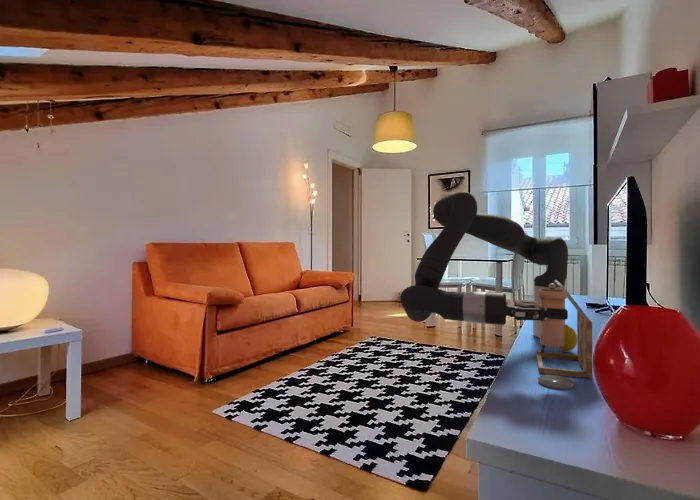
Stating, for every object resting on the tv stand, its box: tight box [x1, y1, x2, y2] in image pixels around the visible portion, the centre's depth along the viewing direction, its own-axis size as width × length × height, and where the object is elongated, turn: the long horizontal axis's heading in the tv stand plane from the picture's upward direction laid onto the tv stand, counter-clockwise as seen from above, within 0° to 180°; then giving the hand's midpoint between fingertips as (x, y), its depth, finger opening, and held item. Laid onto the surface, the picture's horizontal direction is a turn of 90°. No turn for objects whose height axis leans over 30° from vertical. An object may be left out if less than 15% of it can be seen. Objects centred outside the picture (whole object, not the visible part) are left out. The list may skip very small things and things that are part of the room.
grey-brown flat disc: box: [537, 374, 575, 390], centre depth 85 cm, size 7×7×1 cm
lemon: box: [558, 324, 577, 353], centre depth 110 cm, size 6×6×8 cm
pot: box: [538, 283, 568, 348], centre depth 85 cm, size 6×6×14 cm
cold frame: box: [535, 280, 593, 379], centre depth 97 cm, size 16×11×21 cm
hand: (565, 312), depth 84 cm, fingers closed on pot, 4 cm apart
